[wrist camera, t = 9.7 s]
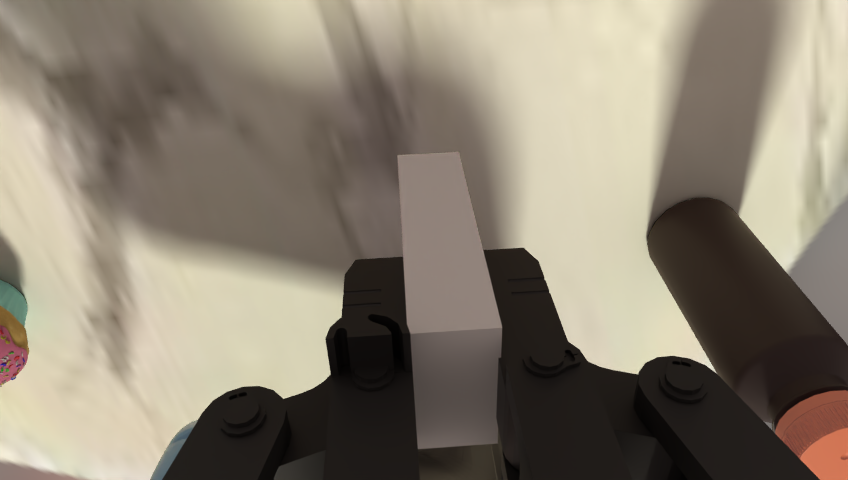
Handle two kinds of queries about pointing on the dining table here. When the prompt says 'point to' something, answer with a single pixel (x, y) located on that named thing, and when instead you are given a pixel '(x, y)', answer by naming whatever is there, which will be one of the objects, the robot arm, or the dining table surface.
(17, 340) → the cupcake
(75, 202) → the dining table surface
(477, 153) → the dining table surface
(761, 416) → the bottle
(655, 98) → the dining table surface
